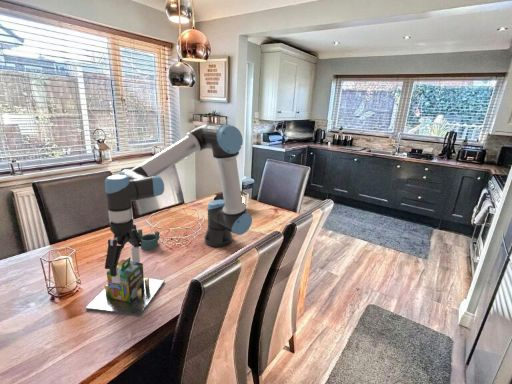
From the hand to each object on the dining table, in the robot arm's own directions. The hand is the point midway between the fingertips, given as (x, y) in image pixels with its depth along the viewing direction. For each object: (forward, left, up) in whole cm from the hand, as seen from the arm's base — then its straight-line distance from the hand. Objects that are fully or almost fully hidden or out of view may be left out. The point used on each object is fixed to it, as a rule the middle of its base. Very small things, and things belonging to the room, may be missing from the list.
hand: (127, 271), depth 104 cm
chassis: (0, 0, -10) cm, 10 cm away
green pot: (+10, -38, -10) cm, 41 cm away
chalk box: (0, +1, -9) cm, 9 cm away
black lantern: (-18, -102, -10) cm, 104 cm away
